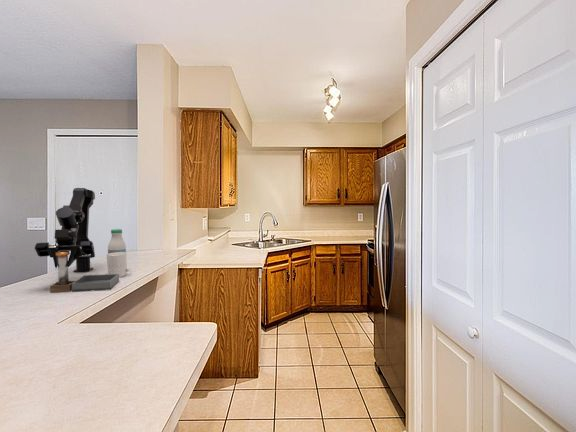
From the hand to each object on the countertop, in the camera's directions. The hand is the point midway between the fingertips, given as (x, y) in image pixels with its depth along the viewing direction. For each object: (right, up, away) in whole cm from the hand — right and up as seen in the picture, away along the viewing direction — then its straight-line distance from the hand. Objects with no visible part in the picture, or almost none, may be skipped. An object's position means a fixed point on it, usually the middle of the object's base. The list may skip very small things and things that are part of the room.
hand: (62, 266), depth 124 cm
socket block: (-1, -9, +2) cm, 9 cm away
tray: (+9, -9, +7) cm, 14 cm away
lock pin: (-1, -6, +2) cm, 7 cm away
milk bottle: (+4, -7, +32) cm, 33 cm away
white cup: (+8, -8, +24) cm, 26 cm away
